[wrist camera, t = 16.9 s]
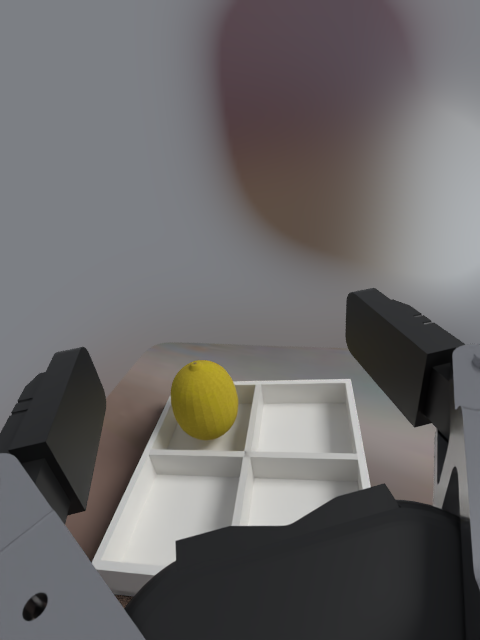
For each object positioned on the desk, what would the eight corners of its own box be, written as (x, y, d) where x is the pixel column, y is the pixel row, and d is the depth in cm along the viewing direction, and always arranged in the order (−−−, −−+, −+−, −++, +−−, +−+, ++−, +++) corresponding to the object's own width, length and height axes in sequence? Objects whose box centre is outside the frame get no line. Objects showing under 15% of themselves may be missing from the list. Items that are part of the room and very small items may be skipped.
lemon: (171, 450, 30) (145, 379, 26) (203, 407, 35) (185, 339, 31) (227, 468, 28) (207, 392, 24) (254, 418, 32) (241, 347, 28)
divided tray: (388, 626, 18) (391, 599, 17) (106, 593, 22) (89, 568, 20) (350, 403, 33) (350, 379, 31) (183, 405, 36) (176, 382, 35)
